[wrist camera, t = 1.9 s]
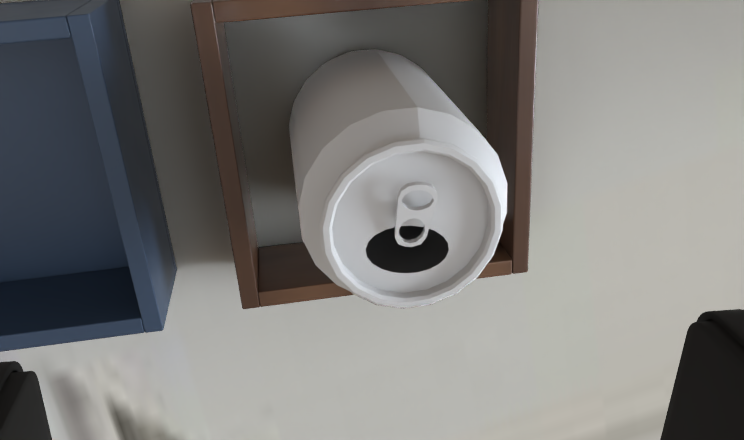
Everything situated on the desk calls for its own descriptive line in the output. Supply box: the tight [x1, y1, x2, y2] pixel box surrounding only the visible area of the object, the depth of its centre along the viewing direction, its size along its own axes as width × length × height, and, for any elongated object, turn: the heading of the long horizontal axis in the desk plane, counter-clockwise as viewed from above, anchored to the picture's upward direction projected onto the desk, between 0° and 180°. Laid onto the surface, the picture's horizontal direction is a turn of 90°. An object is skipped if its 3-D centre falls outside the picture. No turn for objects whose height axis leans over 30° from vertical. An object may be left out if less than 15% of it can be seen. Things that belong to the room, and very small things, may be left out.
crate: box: [191, 0, 539, 309], centre depth 32 cm, size 14×14×4 cm
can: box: [289, 49, 507, 308], centre depth 28 cm, size 8×8×12 cm
